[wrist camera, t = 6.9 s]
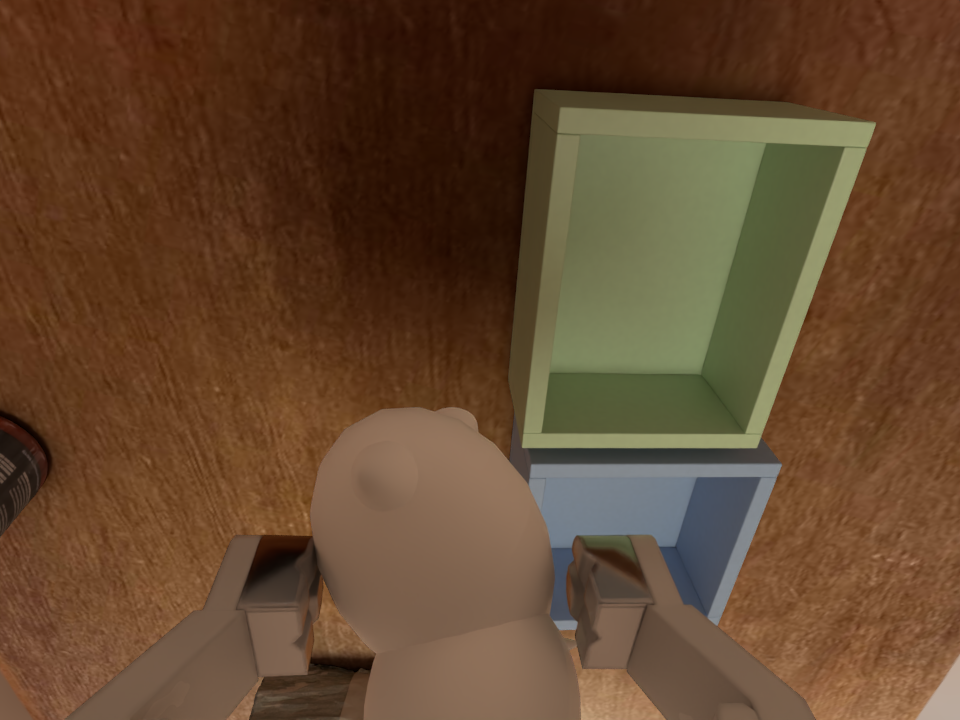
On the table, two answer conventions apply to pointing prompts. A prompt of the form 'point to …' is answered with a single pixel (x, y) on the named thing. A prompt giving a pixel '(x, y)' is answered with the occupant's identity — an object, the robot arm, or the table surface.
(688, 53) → the table surface
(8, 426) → the supplement bottle
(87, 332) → the table surface
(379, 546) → the toy creature
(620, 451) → the blue bin
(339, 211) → the table surface
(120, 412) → the table surface
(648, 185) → the sage bin
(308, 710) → the decorative stone
